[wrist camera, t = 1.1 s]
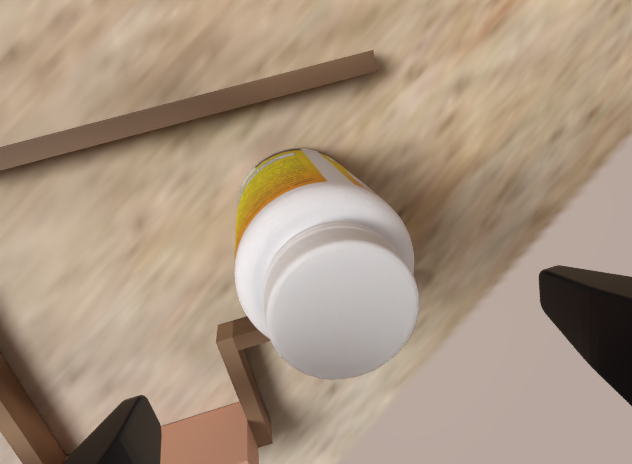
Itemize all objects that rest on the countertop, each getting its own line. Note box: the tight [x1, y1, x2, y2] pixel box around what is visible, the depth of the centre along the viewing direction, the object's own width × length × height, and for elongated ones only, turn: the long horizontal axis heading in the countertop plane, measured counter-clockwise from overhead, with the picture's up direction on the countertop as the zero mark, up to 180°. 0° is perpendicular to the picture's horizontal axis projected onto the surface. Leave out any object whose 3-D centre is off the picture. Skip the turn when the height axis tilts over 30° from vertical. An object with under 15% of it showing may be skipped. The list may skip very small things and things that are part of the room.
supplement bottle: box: [234, 148, 419, 380], centre depth 15 cm, size 6×6×10 cm
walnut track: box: [0, 50, 377, 464], centre depth 20 cm, size 18×21×2 cm
